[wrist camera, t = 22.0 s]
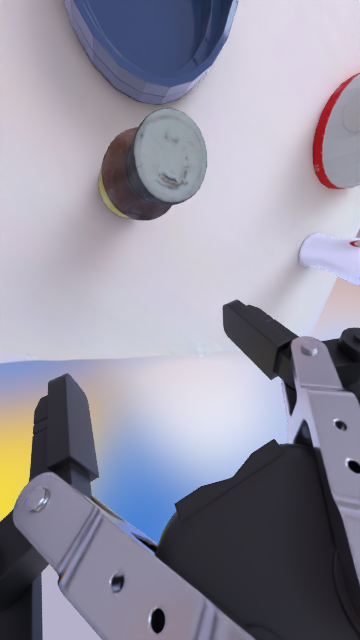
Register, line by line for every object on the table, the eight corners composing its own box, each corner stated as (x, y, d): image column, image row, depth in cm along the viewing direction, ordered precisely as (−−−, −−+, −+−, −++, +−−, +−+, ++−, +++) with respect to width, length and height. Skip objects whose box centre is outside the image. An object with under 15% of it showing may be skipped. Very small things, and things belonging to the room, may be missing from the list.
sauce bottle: (127, 227, 30) (165, 258, 13) (87, 187, 26) (71, 163, 10) (159, 189, 29) (244, 172, 12) (122, 143, 26) (170, 36, 9)
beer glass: (332, 235, 42) (433, 250, 29) (314, 270, 45) (399, 297, 32) (308, 225, 39) (408, 237, 27) (290, 264, 42) (373, 290, 29)
